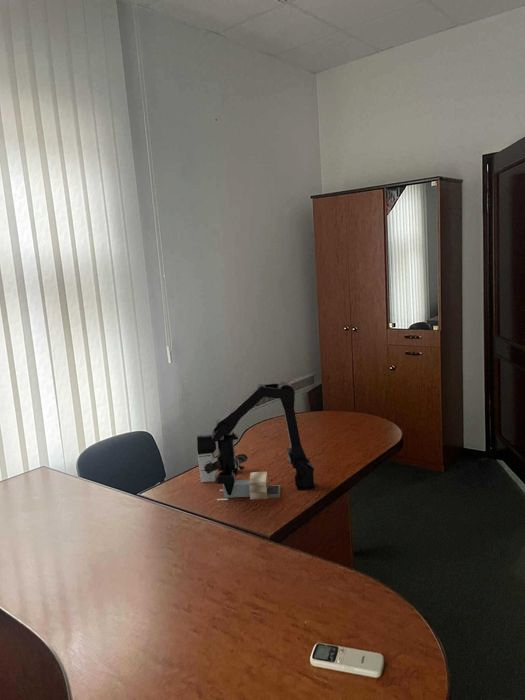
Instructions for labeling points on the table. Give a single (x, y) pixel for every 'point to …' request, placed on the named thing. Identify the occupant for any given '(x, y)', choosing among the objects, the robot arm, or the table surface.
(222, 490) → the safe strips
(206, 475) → the syrup box
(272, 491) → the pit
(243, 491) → the grey rectangular block
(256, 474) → the tunnel
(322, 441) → the table surface
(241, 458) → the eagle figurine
